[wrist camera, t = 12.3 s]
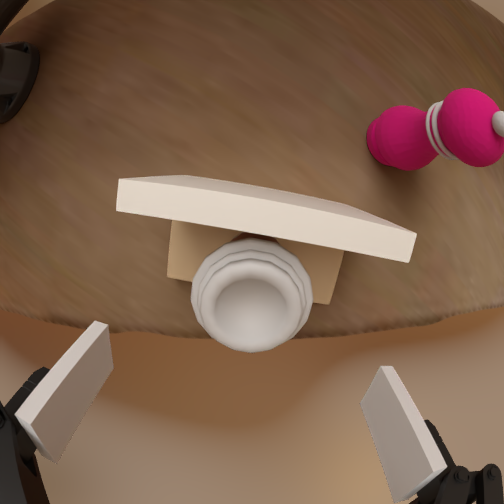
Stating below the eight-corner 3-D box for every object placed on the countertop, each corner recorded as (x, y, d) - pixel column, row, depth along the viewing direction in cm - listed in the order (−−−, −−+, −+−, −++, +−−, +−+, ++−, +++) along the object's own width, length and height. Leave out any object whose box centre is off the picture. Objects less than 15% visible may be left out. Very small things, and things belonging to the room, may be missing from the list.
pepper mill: (414, 170, 29) (538, 184, 10) (364, 169, 30) (484, 175, 10) (409, 115, 27) (526, 85, 8) (359, 111, 28) (465, 55, 8)
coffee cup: (255, 312, 32) (252, 382, 20) (195, 259, 30) (159, 310, 18) (313, 258, 30) (344, 309, 18) (253, 198, 28) (248, 215, 17)
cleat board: (185, 175, 30) (119, 178, 15) (346, 204, 31) (417, 233, 15) (174, 268, 34) (117, 337, 18) (323, 294, 34) (363, 377, 19)
